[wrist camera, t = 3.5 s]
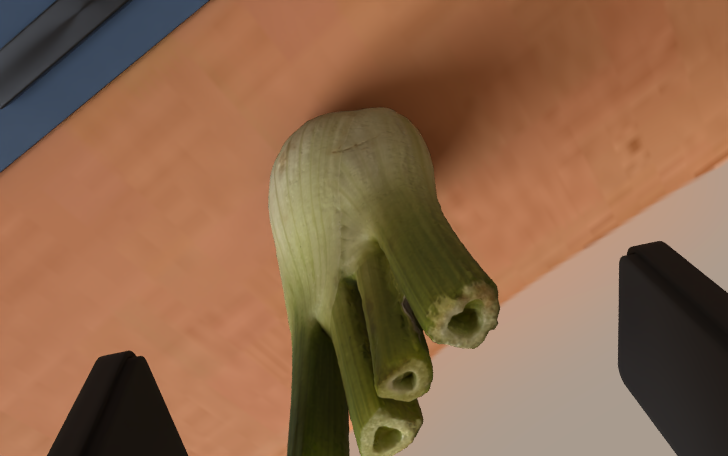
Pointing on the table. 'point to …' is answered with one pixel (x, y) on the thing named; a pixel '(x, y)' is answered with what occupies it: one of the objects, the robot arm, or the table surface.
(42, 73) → the cutlery
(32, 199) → the table surface
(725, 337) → the robot arm
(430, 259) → the fennel bulb
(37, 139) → the napkin
